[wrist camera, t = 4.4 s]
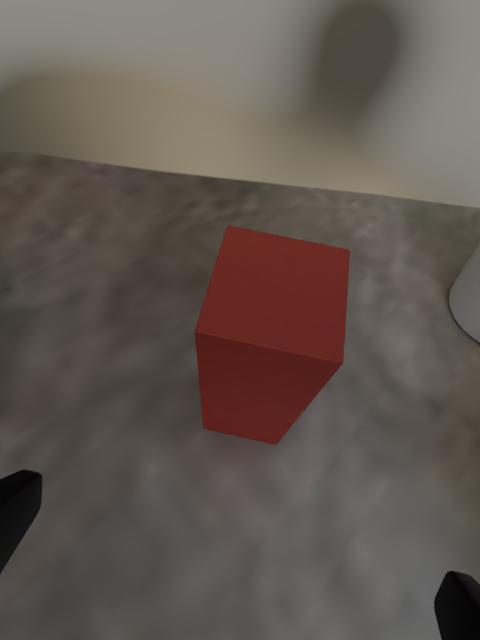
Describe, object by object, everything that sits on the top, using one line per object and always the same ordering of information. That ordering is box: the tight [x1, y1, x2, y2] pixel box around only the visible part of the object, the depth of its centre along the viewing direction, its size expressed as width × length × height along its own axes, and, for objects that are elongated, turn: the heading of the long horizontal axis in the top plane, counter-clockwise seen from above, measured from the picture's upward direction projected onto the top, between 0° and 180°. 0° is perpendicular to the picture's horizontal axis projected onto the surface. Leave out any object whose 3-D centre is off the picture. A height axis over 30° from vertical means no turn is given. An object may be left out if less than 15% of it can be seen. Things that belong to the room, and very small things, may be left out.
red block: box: [195, 226, 350, 444], centre depth 17 cm, size 4×4×12 cm
